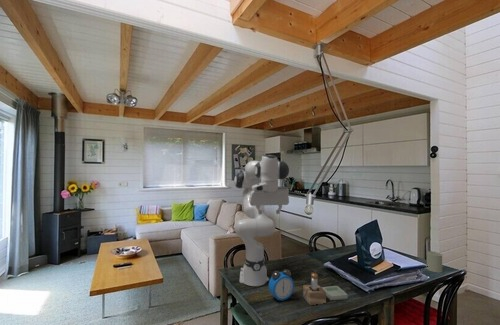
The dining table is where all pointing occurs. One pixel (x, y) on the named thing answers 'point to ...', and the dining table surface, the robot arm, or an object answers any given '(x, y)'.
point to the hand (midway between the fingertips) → (269, 214)
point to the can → (434, 261)
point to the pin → (313, 281)
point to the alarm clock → (281, 285)
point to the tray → (335, 293)
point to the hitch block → (314, 295)
